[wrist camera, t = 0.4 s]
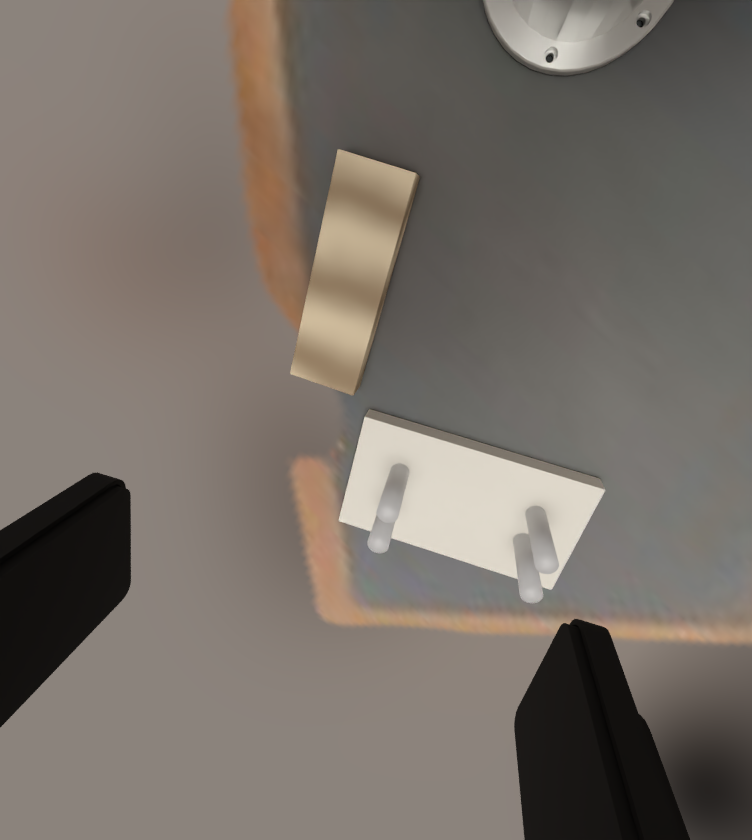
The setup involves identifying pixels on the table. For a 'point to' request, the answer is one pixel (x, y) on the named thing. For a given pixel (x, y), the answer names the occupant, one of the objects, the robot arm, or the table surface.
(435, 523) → the peg stand
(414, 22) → the table surface
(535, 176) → the table surface
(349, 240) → the shelf board
